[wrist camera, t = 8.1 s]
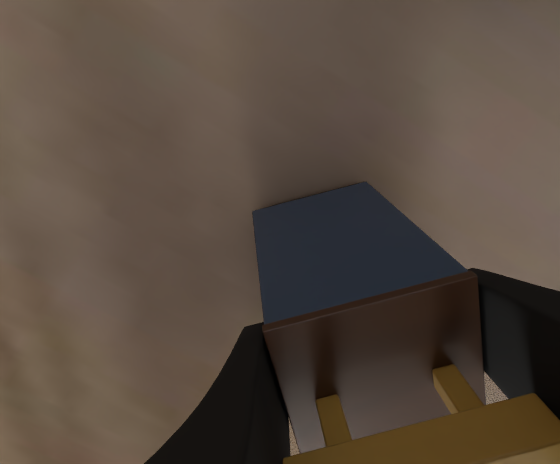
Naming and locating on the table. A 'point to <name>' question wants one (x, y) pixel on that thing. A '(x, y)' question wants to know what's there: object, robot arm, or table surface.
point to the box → (382, 341)
